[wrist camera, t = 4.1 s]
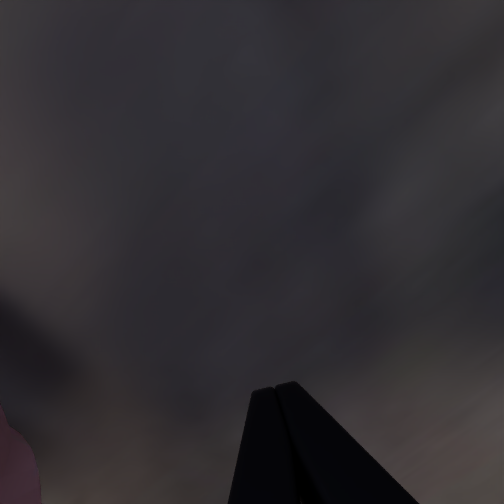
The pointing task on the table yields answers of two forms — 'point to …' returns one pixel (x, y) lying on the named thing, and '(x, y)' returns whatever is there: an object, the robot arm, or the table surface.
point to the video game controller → (17, 467)
